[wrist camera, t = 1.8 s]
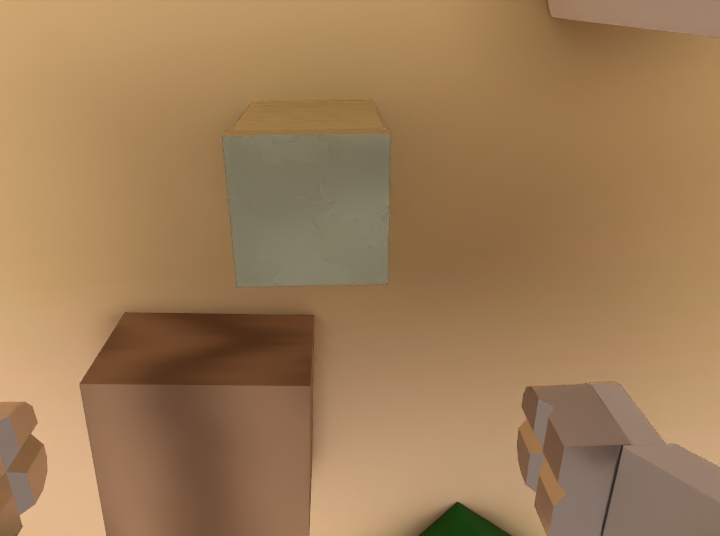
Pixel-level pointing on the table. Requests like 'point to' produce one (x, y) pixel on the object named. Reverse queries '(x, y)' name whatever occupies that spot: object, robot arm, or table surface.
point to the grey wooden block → (309, 193)
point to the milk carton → (645, 14)
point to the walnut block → (203, 424)
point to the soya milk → (462, 524)
